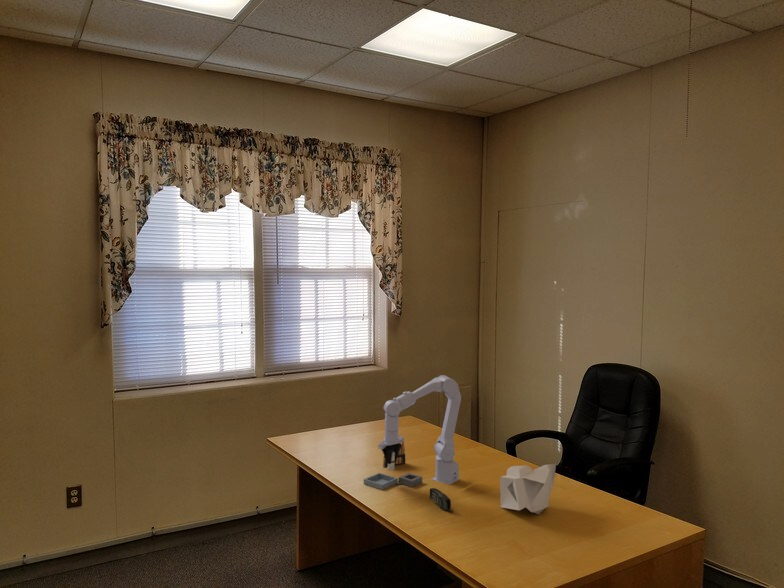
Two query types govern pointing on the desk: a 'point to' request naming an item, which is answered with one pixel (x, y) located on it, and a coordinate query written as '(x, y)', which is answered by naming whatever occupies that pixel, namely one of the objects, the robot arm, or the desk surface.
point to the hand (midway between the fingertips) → (391, 462)
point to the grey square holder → (410, 480)
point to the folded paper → (527, 487)
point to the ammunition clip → (398, 457)
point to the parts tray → (380, 481)
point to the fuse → (392, 463)
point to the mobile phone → (440, 499)
